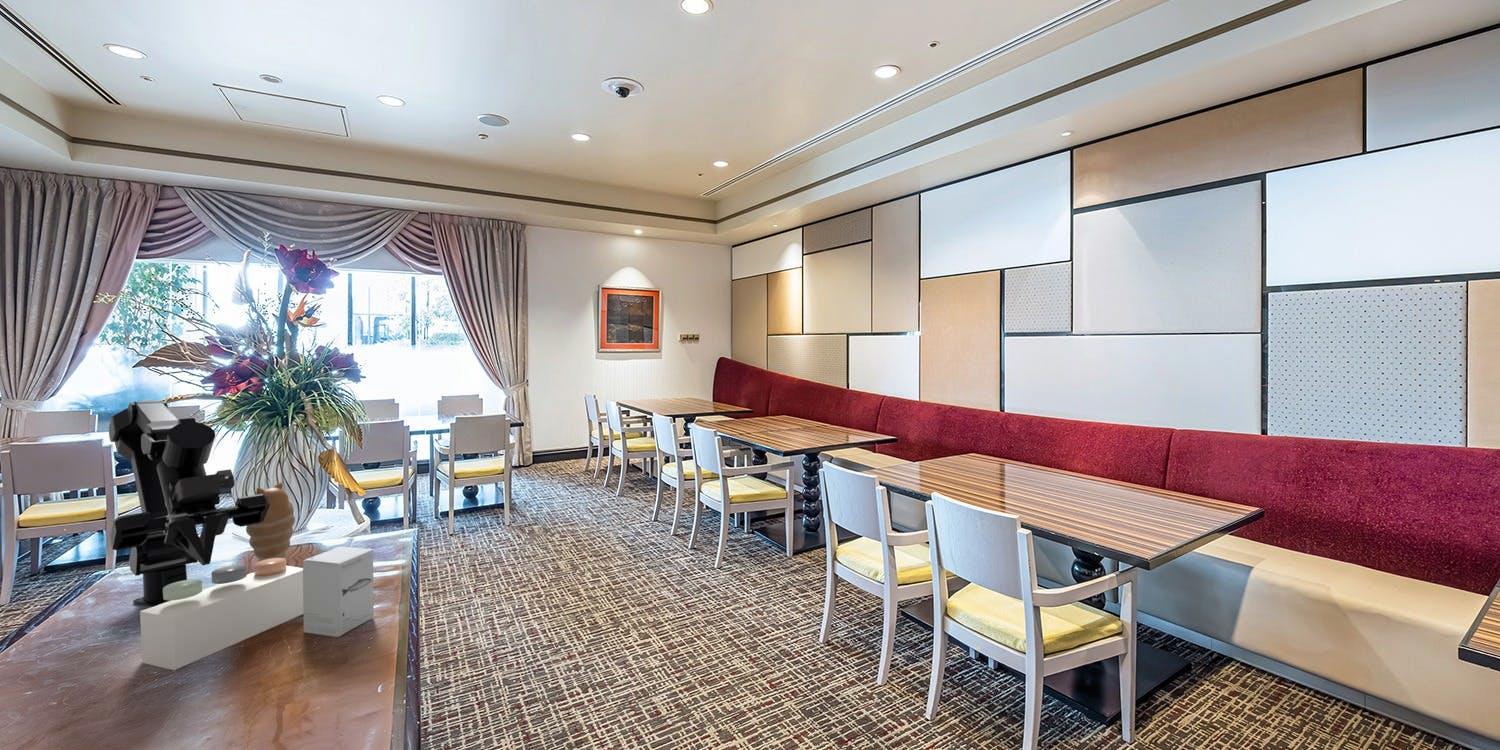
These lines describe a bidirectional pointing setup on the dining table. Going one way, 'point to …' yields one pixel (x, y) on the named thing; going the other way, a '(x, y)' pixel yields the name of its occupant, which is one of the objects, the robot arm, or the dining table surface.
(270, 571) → the terracotta button
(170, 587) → the sage button
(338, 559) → the supplement box
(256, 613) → the button bar
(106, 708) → the dining table surface
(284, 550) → the cat ice cream
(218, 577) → the grey button
